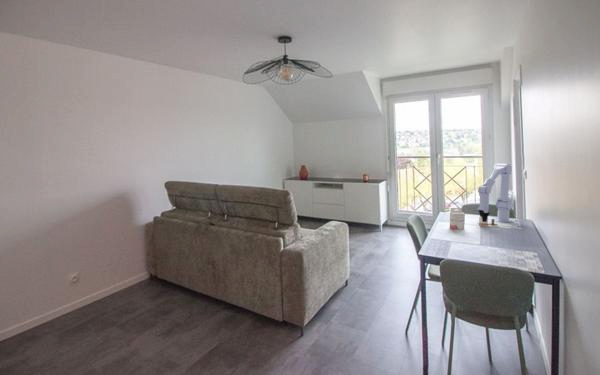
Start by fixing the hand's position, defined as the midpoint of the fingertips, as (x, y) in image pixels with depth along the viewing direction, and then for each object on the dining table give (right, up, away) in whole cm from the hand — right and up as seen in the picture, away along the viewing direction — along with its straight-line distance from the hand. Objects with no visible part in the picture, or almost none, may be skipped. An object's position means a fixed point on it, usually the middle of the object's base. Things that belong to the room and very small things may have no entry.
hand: (483, 220), depth 237 cm
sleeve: (0, -3, 0) cm, 3 cm away
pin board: (+3, -4, -1) cm, 5 cm away
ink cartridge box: (-22, -6, -5) cm, 23 cm away
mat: (+15, -3, -1) cm, 15 cm away
